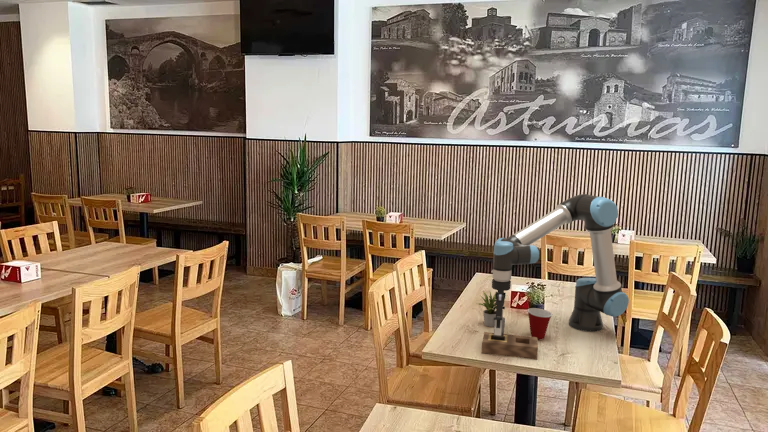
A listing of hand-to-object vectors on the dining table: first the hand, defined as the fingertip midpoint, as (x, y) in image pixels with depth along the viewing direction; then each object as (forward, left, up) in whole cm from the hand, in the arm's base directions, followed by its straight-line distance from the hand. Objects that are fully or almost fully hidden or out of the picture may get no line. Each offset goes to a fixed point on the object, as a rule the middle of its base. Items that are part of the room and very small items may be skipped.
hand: (498, 329), depth 249 cm
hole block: (-5, 0, -9) cm, 10 cm away
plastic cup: (-17, -20, -9) cm, 28 cm away
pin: (0, 0, -8) cm, 8 cm away
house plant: (+4, -29, -9) cm, 31 cm away
